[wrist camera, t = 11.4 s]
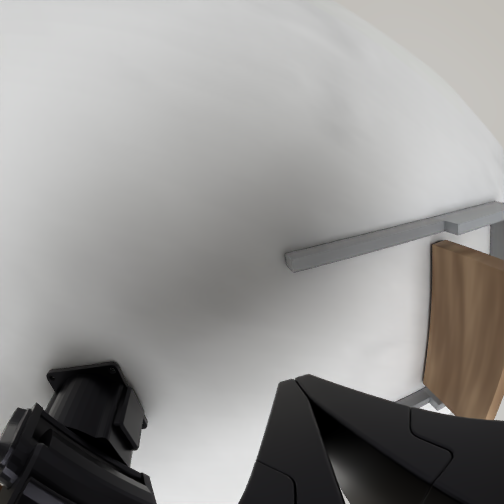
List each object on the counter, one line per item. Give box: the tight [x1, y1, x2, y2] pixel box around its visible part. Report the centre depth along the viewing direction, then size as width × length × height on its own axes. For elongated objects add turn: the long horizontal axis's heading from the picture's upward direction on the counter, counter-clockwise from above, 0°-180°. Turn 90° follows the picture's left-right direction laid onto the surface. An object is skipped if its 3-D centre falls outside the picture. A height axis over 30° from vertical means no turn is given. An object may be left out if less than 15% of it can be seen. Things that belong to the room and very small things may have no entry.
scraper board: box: [423, 240, 504, 420], centre depth 19 cm, size 2×14×9 cm, turn 12°
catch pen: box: [285, 201, 504, 411], centre depth 21 cm, size 21×18×4 cm
